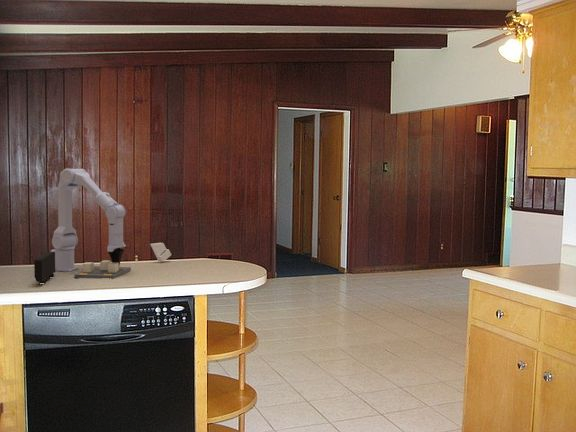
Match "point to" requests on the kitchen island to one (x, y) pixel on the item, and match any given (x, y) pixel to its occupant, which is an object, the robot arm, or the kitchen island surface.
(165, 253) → the white angled block
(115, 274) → the switch bank
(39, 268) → the digital display
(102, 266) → the tab
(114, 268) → the cream squarish block
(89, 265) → the beige block
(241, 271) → the kitchen island surface
